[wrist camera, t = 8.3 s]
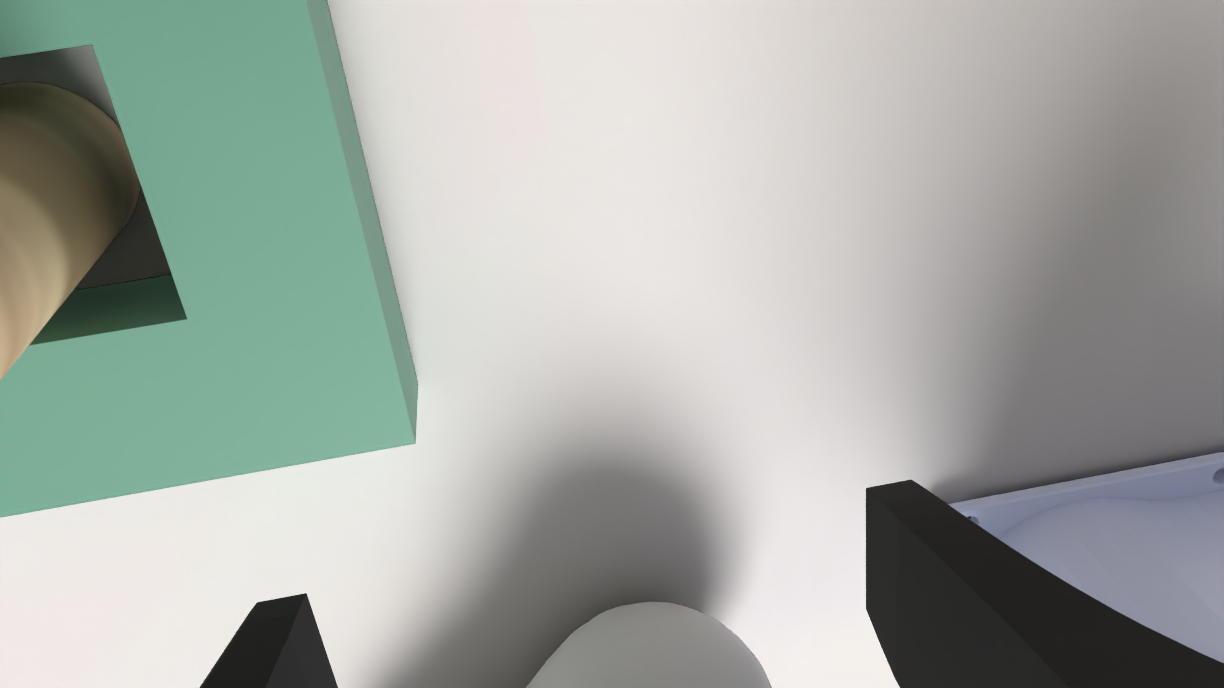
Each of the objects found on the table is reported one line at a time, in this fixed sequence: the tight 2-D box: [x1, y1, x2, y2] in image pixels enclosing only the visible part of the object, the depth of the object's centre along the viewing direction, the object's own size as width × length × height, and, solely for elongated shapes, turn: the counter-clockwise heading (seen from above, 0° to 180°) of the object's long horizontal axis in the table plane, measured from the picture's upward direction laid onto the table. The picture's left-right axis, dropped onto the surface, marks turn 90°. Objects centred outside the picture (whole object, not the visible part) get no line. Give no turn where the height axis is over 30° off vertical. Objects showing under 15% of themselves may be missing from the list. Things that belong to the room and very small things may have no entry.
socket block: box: [0, 0, 418, 517], centre depth 19 cm, size 12×12×2 cm
